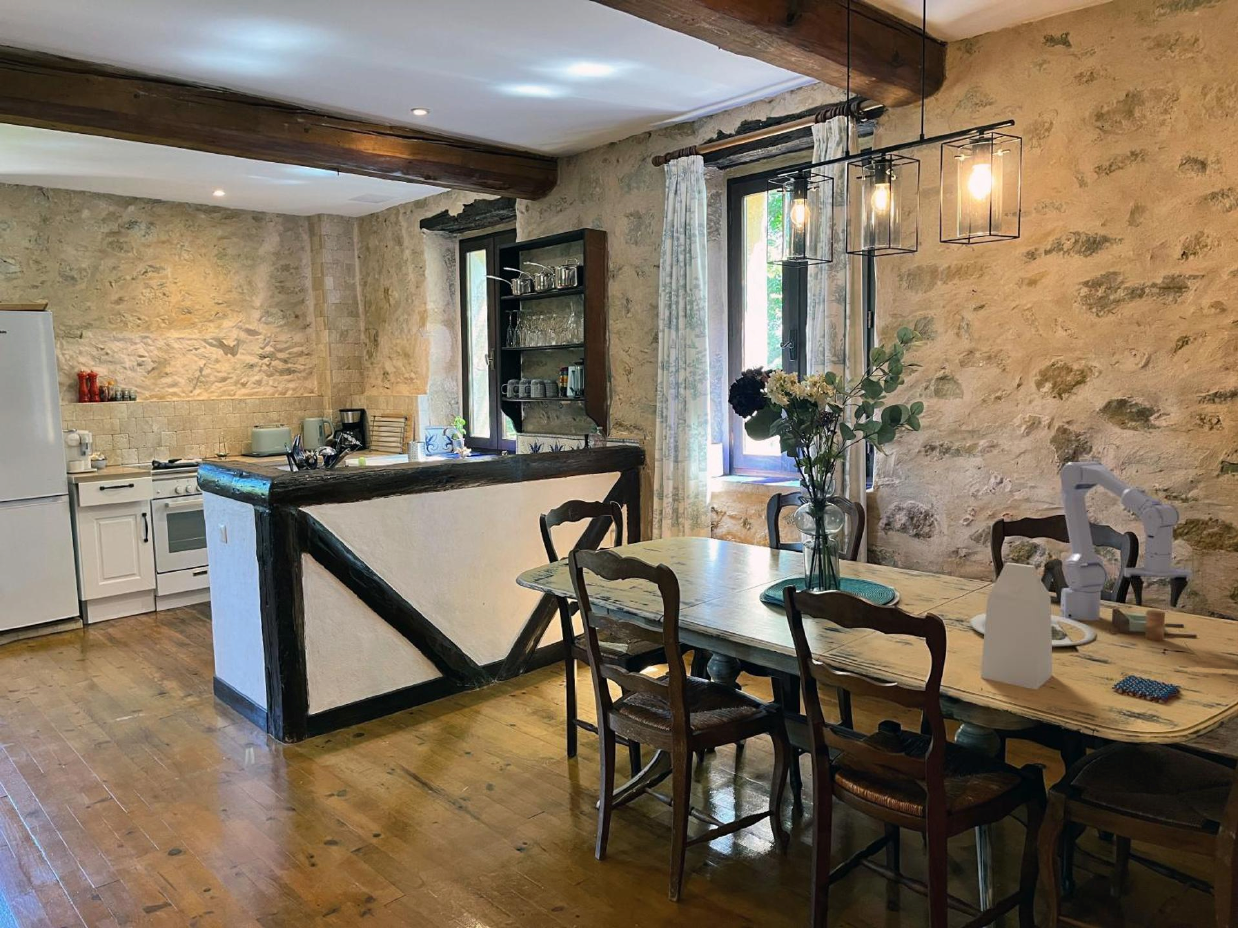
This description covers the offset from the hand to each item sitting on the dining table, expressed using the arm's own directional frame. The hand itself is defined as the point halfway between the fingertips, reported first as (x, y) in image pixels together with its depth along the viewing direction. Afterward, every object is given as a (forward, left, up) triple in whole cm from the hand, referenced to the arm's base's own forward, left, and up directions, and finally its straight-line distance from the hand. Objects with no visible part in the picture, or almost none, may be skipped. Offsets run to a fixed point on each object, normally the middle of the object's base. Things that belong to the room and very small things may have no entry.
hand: (1155, 605), depth 218 cm
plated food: (-28, +3, -10) cm, 30 cm away
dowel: (0, 0, -9) cm, 9 cm away
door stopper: (-16, +40, -10) cm, 44 cm away
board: (+2, +5, -10) cm, 11 cm away
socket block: (-1, +8, -9) cm, 12 cm away
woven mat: (-12, -37, -10) cm, 40 cm away
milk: (-37, -33, -10) cm, 51 cm away
